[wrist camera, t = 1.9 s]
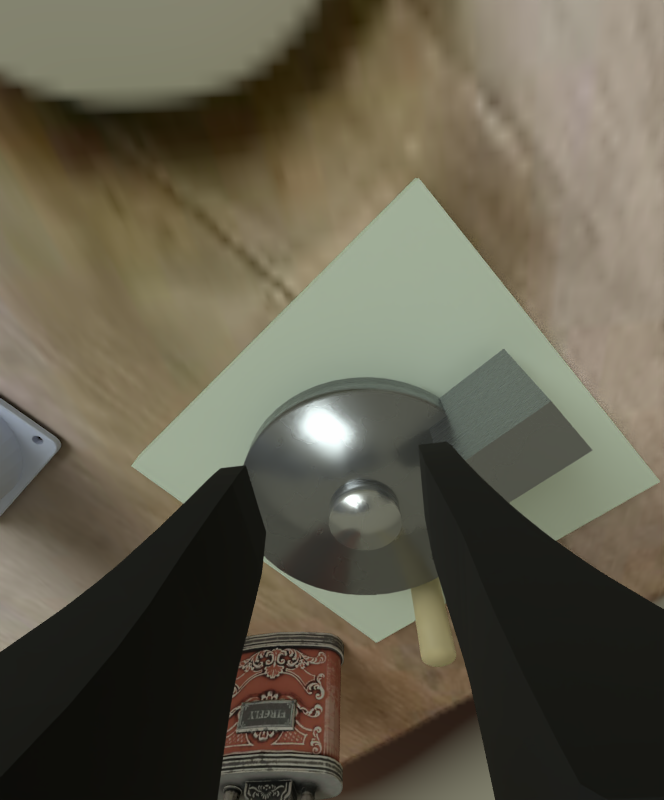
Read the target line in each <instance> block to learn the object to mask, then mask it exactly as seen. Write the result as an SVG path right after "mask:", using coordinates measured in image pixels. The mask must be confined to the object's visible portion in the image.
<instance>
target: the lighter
mask: <svg viewBox="0 0 664 800" xmlns="http://www.w3.org/2000/svg"><path fill="white" fill-rule="evenodd" d="M343 662H344V645H343V642H342V640H340V639H339V638H338V637H337V636H335V635H333V634H328V633H314V632H278V633H270V634H261V635H254V636H249V637H246V640H245V644H244V648H243V652H242V656H241V660H240V664H239V668H238V672H237V677H236V682H235V686H234V691H233V696H232V702H231V709H230V715H229V722H228V728H227V735H226V741H225V748H224V755H223V762H222V770H221V778H220V785H219V793H218V800H320V799H327V798H332V797H335V796H337V795H338V794H340V792H341V791H342V772H343V768H342V766H341V764H340V763H339V751H340V685H341V666H342V664H343Z"/></svg>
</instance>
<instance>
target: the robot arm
mask: <svg viewBox="0 0 664 800" xmlns="http://www.w3.org/2000/svg"><path fill="white" fill-rule="evenodd" d="M38 436H39V437H41V438H42V440H40V439H39V438H38ZM60 448H61V443H60V441H59V439H58V438H57V437H55V436H54V435H52V434H51V433H50V432H48V431H47V430H45V429H44V428H42V427H41V426H40V425H38V424H37V423H35V422H34V421H32V420H31V419H30V418H28V417H27V416H25V415H24V414H22V413H21V412H20V411H18V410H17V409H15V408H14V407H13V406H11V405H10V404H8V403H7V402H5V401H4V400H3V399H1V398H0V516H1V515H2V514H3V513H4V512H5V511H6V509H7V508H8V507H9V506H10V505H11V504H12V503H13V501H14V500H15V499H16V498H17V497H18V496H19V495H20V494H21V492H22V491H23V490H24V489H25V488H26V487H27V486H28V485H29V483H30V482H31V481H32V480H33V479H34V478H35V477H36V475H37V474H38V473H39V472H40V471H41V470H42V469H43V468H44V466H45V465H46V464H47V463H48V462H49V461H50V460H51V458H52V457H53V456H54V455H55V454H56V453H57V452H58V451H59V449H60ZM418 448H419V459H420V470H421V481H422V493H423V504H424V515H425V521H426V526H427V532H428V537H429V542H430V547H431V552H432V557H433V561H434V564H435V568H436V571H437V574H438V577H439V581H440V584H441V587H442V590H443V594H444V597H445V600H446V603H447V607H448V610H449V613H450V616H451V619H452V623H453V626H454V629H455V632H456V636H457V639H458V642H459V645H460V648H461V652H462V655H463V658H464V662H465V666H466V669H467V673H468V677H469V681H470V685H471V689H472V694H473V698H474V703H475V707H476V712H477V716H478V721H479V726H480V730H481V734H482V740H483V744H484V749H485V753H486V758H487V763H488V767H489V772H490V777H491V782H492V786H493V791H494V796H495V800H664V609H662V608H661V607H659V606H657V605H655V604H654V603H652V602H650V601H649V600H647V599H645V598H643V597H642V596H640V595H638V594H637V593H635V592H633V591H632V590H630V589H628V588H627V587H625V586H623V585H622V584H620V583H618V582H617V581H615V580H613V579H611V578H610V577H608V576H607V575H605V574H604V573H602V572H600V571H599V570H597V569H596V568H594V567H593V566H591V565H589V564H588V563H586V562H585V561H584V560H582V559H581V558H579V557H578V556H576V555H575V554H573V553H572V552H571V551H569V550H568V549H566V548H565V547H563V546H562V545H561V544H559V543H558V542H557V541H555V540H554V539H553V538H551V537H550V536H549V535H547V534H546V533H545V532H544V531H542V530H541V529H540V528H538V527H537V526H536V525H535V524H534V523H532V522H531V521H530V520H529V519H527V518H526V517H525V516H524V515H522V514H521V513H520V512H519V511H518V510H517V509H515V508H514V507H513V506H512V505H511V504H510V503H508V502H507V501H506V500H505V499H504V498H503V497H502V496H501V495H500V494H499V493H498V492H496V491H495V490H494V489H493V488H492V487H491V486H490V485H489V484H488V483H487V482H486V481H485V480H484V479H483V478H482V477H481V476H480V475H479V474H478V473H477V472H476V471H475V470H474V469H473V468H472V467H471V466H470V465H469V464H468V463H467V462H466V461H465V460H464V459H463V458H462V457H461V456H460V454H459V453H458V452H457V451H456V450H455V449H454V448H453V447H452V445H450V444H449V443H448V442H438V443H430V444H421V445H418ZM265 540H266V530H265V527H264V523H263V520H262V517H261V514H260V510H259V507H258V504H257V500H256V497H255V494H254V490H253V487H252V484H251V481H250V477H249V474H248V471H247V467H246V465H243V466H235V467H226V468H220V469H219V470H218V471H217V472H215V473H214V474H213V475H212V476H211V477H210V478H209V479H208V480H207V481H206V482H205V483H204V484H203V485H202V486H201V487H200V488H199V489H198V490H197V491H196V492H195V493H194V494H193V495H192V496H191V497H190V498H189V499H188V500H187V501H186V502H185V503H184V504H183V505H182V506H181V507H180V508H179V509H178V510H177V511H176V512H175V513H174V514H173V515H172V516H171V517H169V518H168V519H167V520H166V521H165V522H164V523H163V524H162V525H161V526H160V527H159V528H158V529H157V530H156V531H155V532H154V533H153V534H152V535H151V536H149V537H148V538H147V539H146V540H145V541H144V542H143V543H142V544H141V545H139V546H138V547H137V548H136V549H135V550H134V551H133V552H132V553H131V554H130V555H128V556H127V557H126V558H125V559H124V560H123V561H122V562H121V563H120V564H118V565H117V566H116V567H115V568H114V569H112V570H111V571H110V572H109V573H108V574H106V575H105V576H104V577H103V578H102V579H100V580H99V581H98V582H97V583H95V584H94V585H93V586H92V587H90V588H89V589H88V590H86V591H85V592H84V593H83V594H81V595H80V596H79V597H77V598H76V599H75V600H74V601H72V602H71V603H70V604H68V605H67V606H66V607H64V608H63V609H62V610H60V611H59V612H57V613H56V614H55V615H53V616H52V617H50V618H49V619H47V620H46V621H44V622H43V623H42V624H40V625H39V626H37V627H36V628H34V629H33V630H31V631H30V632H29V633H27V634H26V635H24V636H23V637H21V638H20V639H18V640H17V641H16V642H14V643H13V644H11V645H10V646H8V647H7V648H6V649H4V650H3V651H1V652H0V800H218V793H219V785H220V778H221V770H222V762H223V755H224V748H225V741H226V735H227V728H228V722H229V715H230V709H231V702H232V696H233V691H234V686H235V682H236V677H237V672H238V668H239V664H240V660H241V656H242V652H243V648H244V644H245V640H246V636H247V632H248V628H249V624H250V620H251V616H252V612H253V608H254V604H255V600H256V596H257V591H258V587H259V583H260V579H261V574H262V567H263V559H264V550H265Z"/></svg>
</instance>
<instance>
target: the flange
mask: <svg viewBox="0 0 664 800" xmlns="http://www.w3.org/2000/svg"><path fill="white" fill-rule="evenodd" d="M438 442H448V443H449V444H450V445H452V447H453V448H454V449H455V450H456V451H457V452H458V453H459V454H460V456H461V457H462V458H463V459H464V460H465V461H466V462H467V463H468V464H469V465H470V466H471V467H472V468H473V469H474V470H475V471H476V472H477V473H478V474H479V475H480V476H481V477H482V478H483V479H484V480H485V481H486V482H487V483H488V484H489V485H490V486H491V487H492V488H493V489H494V490H495V491H496V492H498V493H499V494H500V495H501V496H502V497H503V498H504V499H505V500H506V501H507V502H508V503H510V502H511V501H513V500H514V499H516V498H518V497H519V496H521V495H522V494H524V493H526V492H527V491H529V490H530V489H532V488H534V487H535V486H537V485H538V484H540V483H542V482H543V481H545V480H546V479H548V478H549V477H551V476H553V475H554V474H556V473H557V472H559V471H561V470H562V469H564V468H565V467H567V466H569V465H570V464H572V463H573V462H575V461H577V460H578V459H580V458H581V457H583V456H585V455H586V454H588V453H589V452H591V451H593V450H592V449H591V448H590V446H589V445H588V444H587V443H586V442H585V441H584V439H583V438H582V437H581V436H580V435H579V433H578V432H577V431H576V430H575V429H574V428H573V426H572V425H571V424H570V423H569V422H568V420H567V419H566V418H565V417H564V416H563V414H562V413H561V412H560V411H559V410H558V409H557V407H556V406H555V405H554V404H553V403H552V401H551V400H550V399H549V398H548V397H547V396H546V395H545V394H544V393H543V391H542V390H541V389H540V388H539V387H538V386H537V385H536V384H535V383H534V381H533V380H532V379H531V378H530V377H529V376H528V375H527V374H526V373H525V371H524V370H523V369H522V368H521V367H520V366H519V365H518V364H517V363H516V361H515V360H514V359H513V358H512V357H511V356H510V355H509V354H508V353H507V351H506V350H505V349H502V350H501V351H500V352H499V353H497V354H496V355H495V356H493V357H492V358H491V359H489V360H488V361H487V362H486V363H484V364H483V365H482V366H480V367H479V368H478V369H476V370H475V371H474V372H473V373H471V374H470V375H469V376H467V377H466V378H465V379H463V380H462V381H461V382H460V383H458V384H457V385H456V386H454V387H453V388H452V389H450V390H449V391H448V392H447V393H445V394H444V395H443V396H441V397H440V398H439V397H437V396H436V395H434V394H432V393H430V392H428V391H426V390H424V389H422V388H420V387H417V386H414V385H411V384H408V383H405V382H401V381H396V380H391V379H386V378H374V377H358V378H347V379H340V380H334V381H330V382H327V383H323V384H320V385H317V386H314V387H312V388H310V389H307V390H305V391H303V392H301V393H299V394H297V395H296V396H294V397H292V398H290V399H289V400H287V401H286V402H285V403H283V404H282V405H281V406H280V407H278V408H277V409H276V410H275V411H274V412H273V413H272V414H271V415H270V416H269V417H268V418H267V419H266V420H265V422H264V423H263V424H262V426H261V427H260V429H259V430H258V431H257V433H256V435H255V437H254V439H253V441H252V443H251V445H250V448H249V451H248V453H247V456H246V459H245V462H244V465H246V467H247V471H248V474H249V477H250V481H251V484H252V487H253V490H254V494H255V497H256V500H257V504H258V507H259V510H260V514H261V517H262V520H263V523H264V527H265V530H266V540H265V550H264V556H265V558H266V559H267V560H268V561H270V562H271V563H272V564H273V565H275V566H276V567H277V568H278V569H280V570H281V571H283V572H284V573H286V574H288V575H289V576H291V577H293V578H295V579H297V580H299V581H301V582H303V583H305V584H308V585H311V586H313V587H316V588H319V589H323V590H327V591H330V592H336V593H342V594H351V595H379V594H389V593H394V592H399V591H404V590H407V589H411V588H414V587H418V586H420V585H422V584H425V583H427V582H430V581H432V580H434V579H436V578H438V574H437V571H436V568H435V564H434V561H433V557H432V552H431V547H430V542H429V537H428V532H427V526H426V521H425V515H424V504H423V493H422V481H421V470H420V459H419V448H418V445H421V444H430V443H438Z"/></svg>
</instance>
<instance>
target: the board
mask: <svg viewBox="0 0 664 800" xmlns="http://www.w3.org/2000/svg"><path fill="white" fill-rule="evenodd" d="M502 349H505V350H506V351H507V353H508V354H509V355H510V356H511V357H512V358H513V359H514V360H515V361H516V363H517V364H518V365H519V366H520V367H521V368H522V369H523V370H524V371H525V373H526V374H527V375H528V376H529V377H530V378H531V379H532V380H533V381H534V383H535V384H536V385H537V386H538V387H539V388H540V389H541V390H542V391H543V393H544V394H545V395H546V396H547V397H548V398H549V399H550V400H551V401H552V403H553V404H554V405H555V406H556V407H557V409H558V410H559V411H560V412H561V413H562V414H563V416H564V417H565V418H566V419H567V420H568V422H569V423H570V424H571V425H572V426H573V428H574V429H575V430H576V431H577V432H578V433H579V435H580V436H581V437H582V438H583V439H584V441H585V442H586V443H587V444H588V445H589V446H590V448H591V449H592V450H593V451H591V452H589V453H588V454H586V455H585V456H583V457H581V458H580V459H578V460H577V461H575V462H573V463H572V464H570V465H569V466H567V467H565V468H564V469H562V470H561V471H559V472H557V473H556V474H554V475H553V476H551V477H549V478H548V479H546V480H545V481H543V482H542V483H540V484H538V485H537V486H535V487H534V488H532V489H530V490H529V491H527V492H526V493H524V494H522V495H521V496H519V497H518V498H516V499H514V500H513V501H511V502H510V504H511V505H512V506H513V507H514V508H515V509H517V510H518V511H519V512H520V513H521V514H522V515H524V516H525V517H526V518H527V519H529V520H530V521H531V522H532V523H534V524H535V525H536V526H537V527H538V528H540V529H541V530H542V531H544V532H545V533H546V534H547V535H549V536H550V537H551V538H553V539H554V540H555V541H557V540H558V539H560V538H562V537H564V536H565V535H567V534H569V533H571V532H572V531H574V530H576V529H578V528H580V527H581V526H583V525H585V524H587V523H588V522H590V521H592V520H594V519H595V518H597V517H599V516H601V515H602V514H604V513H606V512H608V511H609V510H611V509H613V508H615V507H616V506H618V505H620V504H622V503H624V502H625V501H627V500H629V499H631V498H632V497H634V496H636V495H638V494H639V493H641V492H643V491H645V490H646V489H648V488H650V487H652V486H653V485H655V484H657V483H659V482H660V481H659V479H658V478H657V477H656V476H655V474H654V473H653V472H652V471H651V469H650V468H649V467H648V466H647V464H646V463H645V462H644V461H643V459H642V458H641V457H640V456H639V454H638V453H637V452H636V451H635V449H634V448H633V447H632V446H631V444H630V443H629V442H628V441H627V439H626V438H625V437H624V435H623V434H622V433H621V432H620V430H619V429H618V428H617V427H616V425H615V424H614V423H613V422H612V420H611V419H610V418H609V417H608V415H607V414H606V413H605V412H604V410H603V409H602V408H601V407H600V405H599V404H598V403H597V402H596V400H595V399H594V398H593V397H592V395H591V394H590V393H589V391H588V390H587V389H586V388H585V386H584V385H583V384H582V383H581V381H580V380H579V379H578V378H577V376H576V375H575V374H574V373H573V371H572V370H571V369H570V368H569V366H568V365H567V364H566V363H565V361H564V360H563V359H562V358H561V356H560V355H559V354H558V353H557V351H556V350H555V349H554V347H553V346H552V345H551V344H550V342H549V341H548V340H547V339H546V337H545V336H544V335H543V334H542V332H541V331H540V330H539V329H538V327H537V326H536V325H535V324H534V322H533V321H532V320H531V319H530V317H529V316H528V315H527V314H526V312H525V311H524V310H523V309H522V307H521V306H520V305H519V304H518V302H517V301H516V300H515V298H514V297H513V296H512V295H511V293H510V292H509V291H508V290H507V288H506V287H505V286H504V285H503V283H502V282H501V281H500V280H499V278H498V277H497V276H496V275H495V273H494V272H493V271H492V270H491V268H490V267H489V266H488V265H487V263H486V262H485V261H484V260H483V258H482V257H481V256H480V254H479V253H478V252H477V251H476V249H475V248H474V247H473V246H472V244H471V243H470V242H469V241H468V239H467V238H466V237H465V236H464V234H463V233H462V232H461V231H460V229H459V228H458V227H457V226H456V224H455V223H454V222H453V221H452V219H451V218H450V217H449V216H448V214H447V213H446V212H445V210H444V209H443V208H442V207H441V205H440V204H439V203H438V202H437V200H436V199H435V198H434V197H433V195H432V194H431V193H430V192H429V190H428V189H427V188H426V187H425V185H424V184H423V183H422V182H421V180H420V179H419V178H415V179H414V180H413V181H412V182H411V183H410V184H409V185H408V186H407V187H406V188H405V189H404V190H403V191H402V192H401V193H400V194H399V195H398V196H397V197H396V198H395V199H394V200H393V201H392V202H391V203H390V204H389V205H388V206H387V207H386V208H385V209H384V210H383V211H382V212H381V213H380V214H379V215H378V216H377V217H376V218H375V219H374V220H373V221H372V222H371V223H370V224H369V225H368V226H367V227H366V228H365V229H364V230H363V231H362V232H361V233H360V234H359V235H358V236H357V237H356V238H355V239H354V240H353V241H352V242H351V243H350V244H349V245H348V246H347V247H346V248H345V249H344V250H343V251H342V252H341V253H340V254H339V255H338V256H337V257H336V258H335V259H334V260H333V261H332V262H331V263H330V264H329V265H328V266H327V267H326V268H325V269H324V270H323V271H322V272H321V273H320V274H319V275H318V276H317V277H316V278H315V279H314V280H313V281H312V282H311V283H310V284H309V285H308V286H307V287H306V288H305V289H304V290H303V291H302V292H301V293H300V294H299V295H298V296H297V297H296V298H295V299H294V300H293V301H292V302H291V303H290V304H289V305H288V306H287V307H286V308H285V309H284V310H283V311H282V312H281V313H280V314H279V315H278V316H277V317H276V318H275V319H274V320H273V321H272V322H271V323H270V324H269V325H268V326H267V327H266V328H265V329H264V330H263V331H262V332H261V333H260V334H259V335H258V336H257V337H256V338H255V339H254V340H253V341H252V342H251V343H250V344H249V345H248V346H247V347H246V348H245V349H244V350H243V351H242V352H241V353H240V354H239V355H238V356H237V357H236V358H235V359H234V360H233V361H232V362H231V363H230V364H229V365H228V366H227V367H226V368H225V369H224V370H223V371H222V372H221V373H220V374H219V375H218V376H217V377H216V378H215V379H214V380H213V381H212V382H211V383H210V384H209V385H208V386H207V387H206V388H205V389H204V390H203V391H202V392H201V393H200V394H199V395H198V396H197V397H196V398H195V399H194V400H193V401H192V402H191V403H190V404H189V405H188V406H187V407H186V408H185V409H184V410H183V411H182V412H181V414H180V415H179V416H178V417H177V418H176V419H175V420H174V421H173V422H172V423H171V424H170V425H169V426H168V427H167V428H166V429H165V430H164V431H163V432H162V433H161V434H160V435H159V436H158V437H157V438H156V439H155V440H154V441H153V442H152V443H151V444H150V445H149V446H148V447H147V448H146V449H145V450H144V451H143V452H142V453H141V454H140V455H139V456H138V457H137V459H136V460H135V461H134V463H133V464H132V465H131V466H132V467H133V468H135V469H136V470H138V471H139V472H140V473H142V474H143V475H145V476H146V477H147V478H149V479H150V480H151V481H153V482H154V483H156V484H157V485H158V486H160V487H161V488H163V489H164V490H165V491H167V492H168V493H170V494H171V495H172V496H174V497H175V498H176V499H178V500H179V501H181V502H182V503H183V504H184V503H185V502H186V501H187V500H188V499H189V498H190V497H191V496H192V495H193V494H194V493H195V492H196V491H197V490H198V489H199V488H200V487H201V486H202V485H203V484H204V483H205V482H206V481H207V480H208V479H209V478H210V477H211V476H212V475H213V474H214V473H215V472H217V471H218V470H219V469H220V468H226V467H235V466H243V465H244V462H245V459H246V456H247V453H248V451H249V448H250V445H251V443H252V441H253V439H254V437H255V435H256V433H257V431H258V430H259V429H260V427H261V426H262V424H263V423H264V422H265V420H266V419H267V418H268V417H269V416H270V415H271V414H272V413H273V412H274V411H275V410H276V409H277V408H278V407H280V406H281V405H282V404H283V403H285V402H286V401H287V400H289V399H290V398H292V397H294V396H296V395H297V394H299V393H301V392H303V391H305V390H307V389H310V388H312V387H314V386H317V385H320V384H323V383H327V382H330V381H334V380H340V379H347V378H358V377H374V378H386V379H391V380H396V381H401V382H405V383H408V384H411V385H414V386H417V387H420V388H422V389H424V390H426V391H428V392H430V393H432V394H434V395H436V396H437V397H439V398H440V397H441V396H443V395H444V394H445V393H447V392H448V391H449V390H450V389H452V388H453V387H454V386H456V385H457V384H458V383H460V382H461V381H462V380H463V379H465V378H466V377H467V376H469V375H470V374H471V373H473V372H474V371H475V370H476V369H478V368H479V367H480V366H482V365H483V364H484V363H486V362H487V361H488V360H489V359H491V358H492V357H493V356H495V355H496V354H497V353H499V352H500V351H501V350H502ZM263 561H264V562H265V563H267V564H268V565H269V566H271V567H272V568H274V569H275V570H276V571H278V572H279V573H280V574H282V575H283V576H285V577H286V578H287V579H289V580H290V581H292V582H293V583H294V584H296V585H297V586H299V587H300V588H301V589H303V590H304V591H305V592H307V593H308V594H310V595H311V596H312V597H314V598H315V599H317V600H318V601H319V602H321V603H322V604H324V605H325V606H326V607H328V608H329V609H330V610H332V611H333V612H335V613H336V614H337V615H339V616H340V617H342V618H343V619H344V620H346V621H347V622H348V623H350V624H351V625H353V626H354V627H355V628H357V629H358V630H360V631H361V632H362V633H364V634H365V635H367V636H368V637H369V638H371V639H372V640H373V641H375V642H376V643H377V642H379V641H381V640H382V639H384V638H386V637H388V636H389V635H391V634H393V633H395V632H396V631H398V630H400V629H402V628H403V627H405V626H407V625H409V624H410V623H412V622H414V621H416V626H417V633H418V640H419V646H420V653H421V659H422V661H423V662H424V663H425V664H427V665H429V666H433V667H442V666H446V665H449V664H451V663H452V662H453V661H454V660H455V658H456V651H455V647H454V643H453V638H452V634H451V629H450V625H449V620H448V616H447V612H446V607H445V604H446V600H445V597H444V594H443V590H442V587H441V584H440V581H439V577H438V578H436V579H434V580H432V581H430V582H427V583H425V584H422V585H420V586H418V587H414V588H411V589H407V590H404V591H399V592H394V593H389V594H379V595H351V594H342V593H336V592H330V591H327V590H323V589H319V588H316V587H313V586H311V585H308V584H305V583H303V582H301V581H299V580H297V579H295V578H293V577H291V576H289V575H288V574H286V573H284V572H283V571H281V570H280V569H278V568H277V567H276V566H275V565H273V564H272V563H271V562H270V561H268V560H267V559H266V558H265V556H264V559H263Z"/></svg>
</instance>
